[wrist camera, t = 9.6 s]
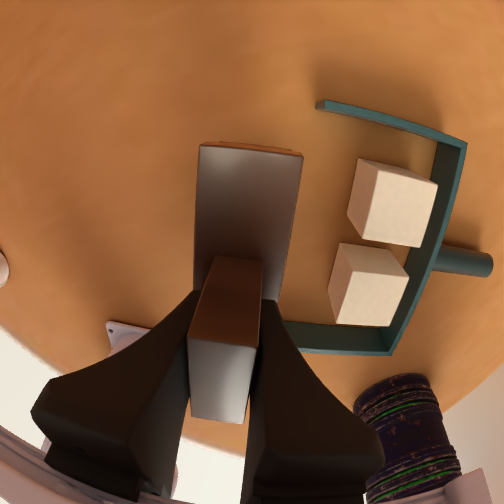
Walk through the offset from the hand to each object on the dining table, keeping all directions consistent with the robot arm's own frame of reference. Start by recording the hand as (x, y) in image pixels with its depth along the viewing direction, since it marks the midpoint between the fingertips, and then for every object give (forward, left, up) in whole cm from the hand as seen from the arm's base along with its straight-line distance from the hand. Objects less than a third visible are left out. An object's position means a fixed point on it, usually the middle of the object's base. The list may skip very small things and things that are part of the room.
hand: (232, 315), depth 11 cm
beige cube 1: (-2, -8, -10) cm, 13 cm away
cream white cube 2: (+4, -8, -10) cm, 13 cm away
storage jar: (-19, -19, -10) cm, 28 cm away
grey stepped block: (0, 0, -4) cm, 4 cm away
